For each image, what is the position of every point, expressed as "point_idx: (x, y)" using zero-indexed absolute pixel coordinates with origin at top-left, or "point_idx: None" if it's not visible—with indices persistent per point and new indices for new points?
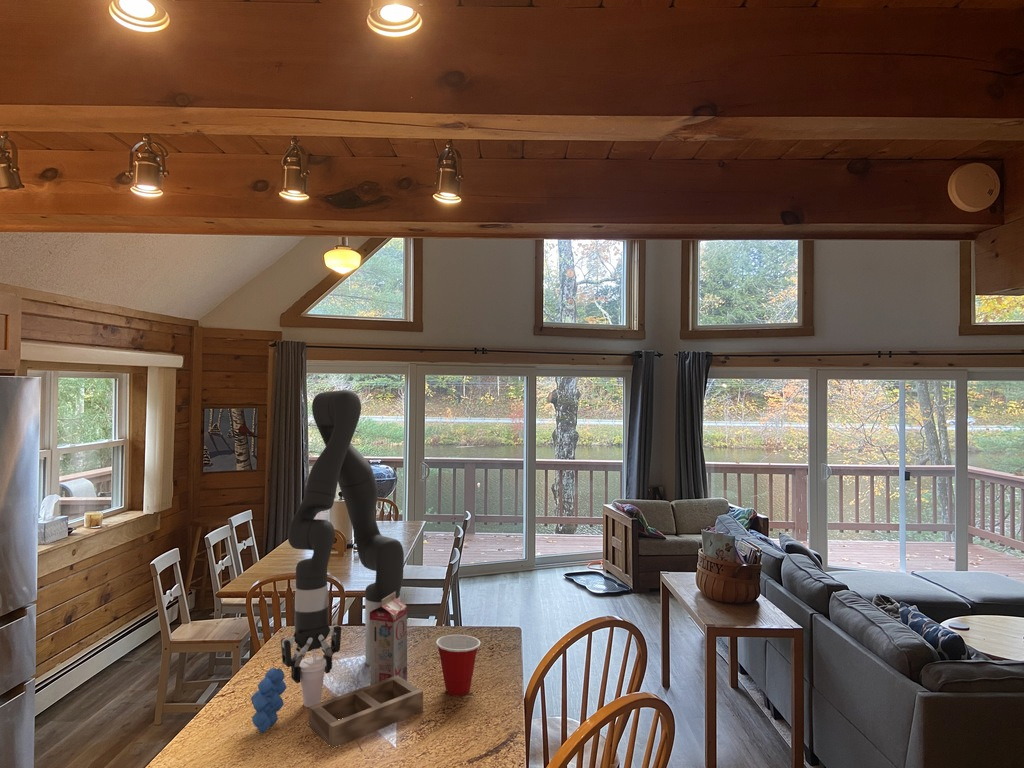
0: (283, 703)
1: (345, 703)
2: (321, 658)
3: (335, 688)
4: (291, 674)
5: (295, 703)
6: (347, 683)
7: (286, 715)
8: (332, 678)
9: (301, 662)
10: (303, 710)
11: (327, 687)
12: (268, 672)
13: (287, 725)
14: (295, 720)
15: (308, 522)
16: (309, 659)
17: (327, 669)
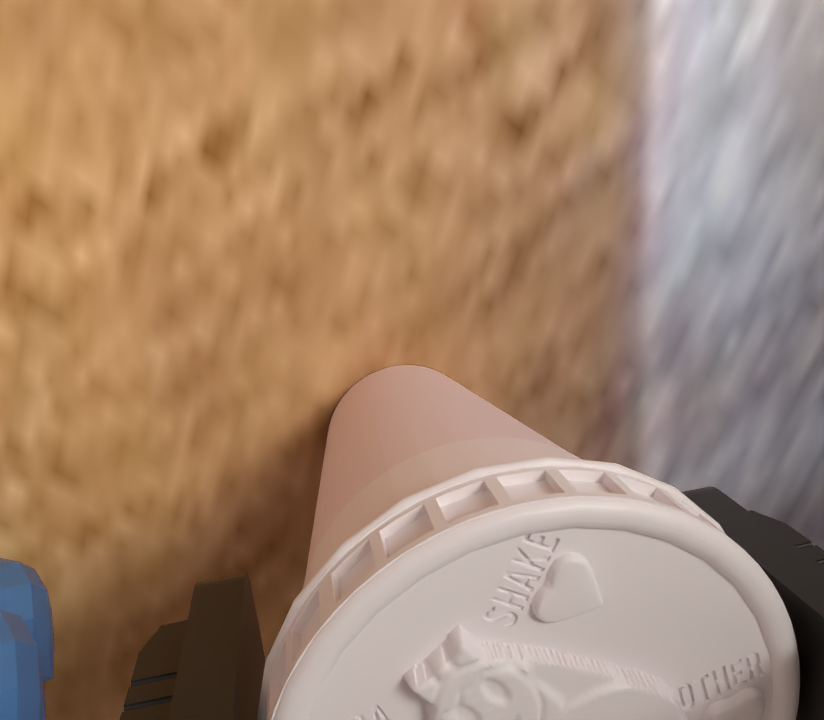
0: (47, 679)
1: None
2: (757, 657)
3: (687, 259)
4: (129, 701)
5: (268, 337)
6: (812, 226)
7: (134, 520)
8: (766, 6)
9: (367, 655)
10: (297, 511)
11: (640, 187)
12: None
13: (107, 686)
14: None
15: None
16: (554, 624)
17: None
